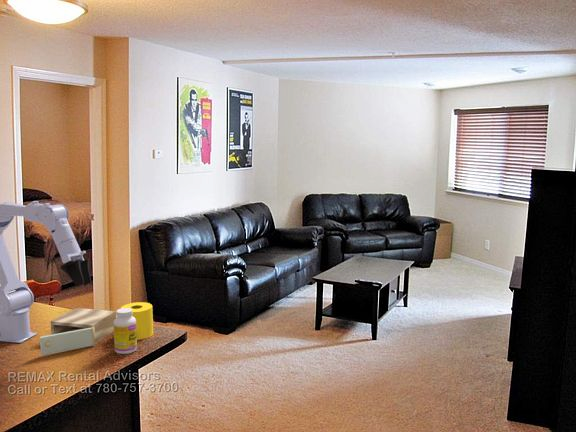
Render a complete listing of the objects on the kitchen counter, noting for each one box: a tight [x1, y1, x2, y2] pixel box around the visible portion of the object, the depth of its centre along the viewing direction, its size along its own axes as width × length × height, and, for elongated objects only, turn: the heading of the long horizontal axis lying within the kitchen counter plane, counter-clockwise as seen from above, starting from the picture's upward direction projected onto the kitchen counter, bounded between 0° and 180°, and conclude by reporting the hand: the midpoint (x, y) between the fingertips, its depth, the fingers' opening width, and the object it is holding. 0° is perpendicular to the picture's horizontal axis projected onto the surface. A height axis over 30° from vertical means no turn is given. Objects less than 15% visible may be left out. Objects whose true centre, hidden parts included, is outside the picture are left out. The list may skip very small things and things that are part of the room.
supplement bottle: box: [113, 307, 138, 355], centre depth 166 cm, size 7×7×13 cm
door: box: [39, 327, 96, 357], centre depth 165 cm, size 16×2×6 cm, turn 122°
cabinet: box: [50, 307, 117, 344], centre depth 178 cm, size 15×14×6 cm
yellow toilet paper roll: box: [120, 301, 154, 341], centre depth 179 cm, size 10×10×9 cm
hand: (84, 284), depth 161 cm, fingers open, 7 cm apart
